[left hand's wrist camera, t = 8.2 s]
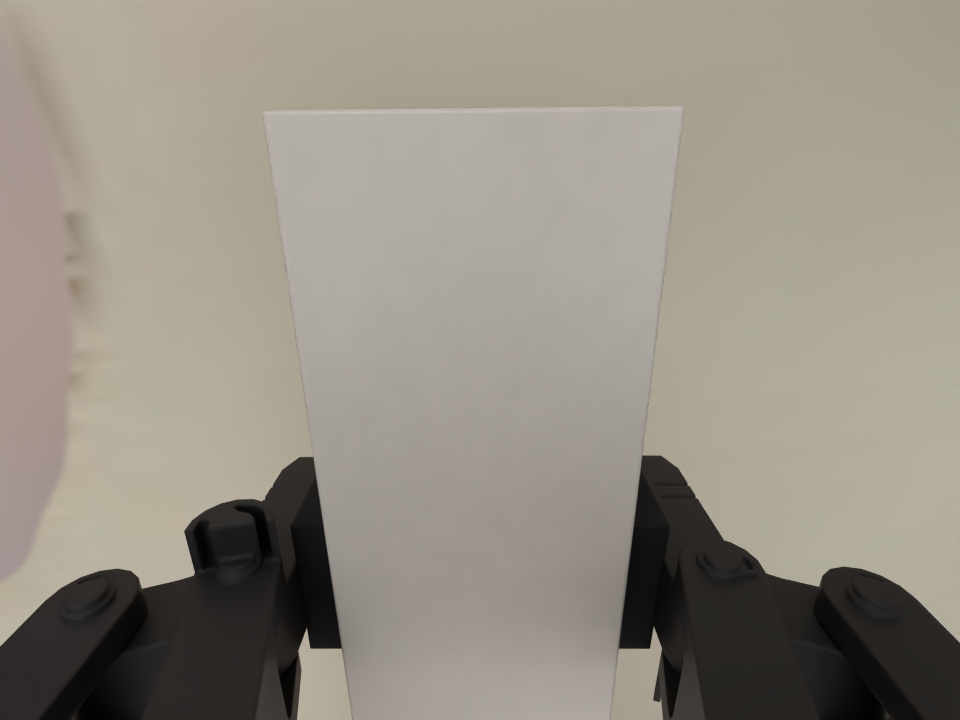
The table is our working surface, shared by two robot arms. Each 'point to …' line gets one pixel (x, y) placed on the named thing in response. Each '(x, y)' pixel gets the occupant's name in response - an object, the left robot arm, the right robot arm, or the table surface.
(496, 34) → the table surface
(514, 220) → the bar
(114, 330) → the table surface
